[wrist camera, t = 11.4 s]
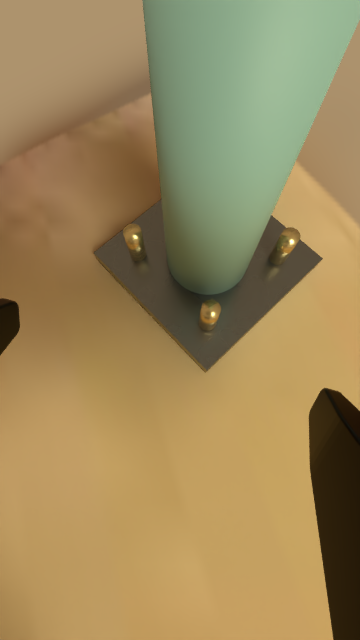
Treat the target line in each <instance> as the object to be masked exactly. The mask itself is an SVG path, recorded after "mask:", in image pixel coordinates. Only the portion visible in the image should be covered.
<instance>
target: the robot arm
mask: <svg viewBox="0 0 360 640" xmlns="http://www.w3.org/2000/svg"><path fill="white" fill-rule="evenodd" d="M19 328H20V321H19V307H18V304H17V303H16V302H15V301H11V300H8V299H4V298H1V299H0V355H1V354H2V353H3V351H4V350H5V349H6V347H7V346H8V345H9V344H10V342H11V341H12V340H13V339H14V337H15V336H16V335H17V333H18V331H19ZM309 449H310V472H311V480H312V488H313V495H314V502H315V509H316V516H317V524H318V531H319V538H320V545H321V553H322V560H323V567H324V574H325V582H326V589H327V596H328V603H329V610H330V618H331V625H332V632H333V639H334V640H360V411H359V410H358V409H357V408H356V407H355V406H354V405H353V404H352V403H351V402H350V401H349V400H348V399H347V398H345V397H344V396H343V395H342V394H341V393H340V392H338V391H335V390H331V389H328V388H324V389H322V390H321V391H320V393H319V395H318V397H317V399H316V400H315V402H314V404H313V406H312V408H311V410H310V413H309Z"/></svg>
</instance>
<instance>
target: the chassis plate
mask: <svg viewBox="0 0 360 640" xmlns="http://www.w3.org/2000/svg"><path fill="white" fill-rule="evenodd" d="M94 254H95V256H96V258H97V260H98V261H99V262H100V263H101V264H102V265H103V266H104V267H105V268H106V269H107V270H108V271H109V272H110V274H111V275H112V276H113V277H114V278H115V279H116V280H117V281H118V282H119V283H120V284H121V285H122V286H123V287H124V288H125V289H126V290H127V291H128V292H129V293H130V294H131V295H132V297H133V298H134V299H135V300H136V301H137V302H138V303H139V304H140V305H141V306H142V307H143V308H144V309H145V310H146V311H147V312H148V313H149V314H150V315H151V316H152V317H153V318H154V319H155V321H156V322H157V323H158V324H159V325H160V326H161V327H162V328H163V329H164V330H165V331H166V332H167V333H168V334H169V335H170V336H171V337H172V338H173V339H174V340H175V341H176V342H177V344H178V345H179V346H180V347H181V348H182V349H183V350H184V351H185V352H186V353H187V354H188V355H189V356H190V357H191V358H192V359H193V360H194V361H195V362H196V363H197V364H198V365H199V367H200V368H201V369H202V370H203V371H204V372H205V373H206V372H207V371H208V370H209V369H210V368H211V367H212V366H213V365H214V364H215V363H216V362H217V361H218V360H219V359H220V358H221V357H222V356H223V355H225V354H226V353H227V352H228V351H229V350H230V349H231V348H232V347H233V346H234V345H235V344H236V343H237V342H238V341H239V340H240V339H241V338H242V337H243V336H244V335H245V334H246V333H247V332H248V331H249V330H250V329H251V328H252V327H253V326H255V325H256V324H257V323H258V322H259V321H260V320H261V319H262V318H263V317H264V316H265V315H266V314H267V313H268V312H269V311H270V310H271V309H272V308H273V307H274V306H275V305H276V304H277V303H278V302H279V301H280V300H281V299H282V298H283V297H285V296H286V295H287V294H288V293H289V292H290V291H291V290H292V289H293V288H294V287H295V286H296V285H297V284H298V283H299V282H300V281H301V280H302V279H303V278H304V277H305V276H306V275H307V274H308V273H309V272H310V271H311V270H312V269H313V268H315V267H316V266H317V264H318V263H319V262H320V261H321V260H322V259H323V258H321V257H320V256H319V255H318V254H317V253H315V252H314V251H313V250H312V249H311V248H310V247H308V246H307V245H306V244H305V243H304V242H302V241H301V240H300V233H299V232H298V230H296V229H294V228H286V227H285V226H284V225H282V224H281V223H280V222H279V221H278V220H276V219H275V218H274V217H273V216H272V215H271V217H270V219H269V221H268V223H267V225H266V228H265V230H264V232H263V234H262V237H261V239H260V241H259V243H258V245H257V248H256V250H255V252H254V254H253V256H252V259H251V261H250V263H249V265H248V268H247V270H246V272H245V274H244V276H243V277H242V279H241V280H240V281H239V282H238V283H237V284H236V285H235V286H234V287H232V288H231V289H229V290H227V291H225V292H222V293H218V294H212V295H205V294H199V293H195V292H192V291H190V290H188V289H186V288H184V287H183V286H181V285H180V284H179V283H178V282H177V281H176V280H175V278H174V277H173V276H172V274H171V272H170V270H169V267H168V262H167V253H166V242H165V232H164V221H163V211H162V200H160V201H159V202H157V203H156V204H155V205H153V206H152V207H151V208H150V209H148V210H147V211H146V212H145V213H143V214H142V215H141V216H140V217H138V218H137V219H136V220H135V221H133V222H132V223H131V224H129V225H127V226H126V227H125V228H124V229H123V230H122V231H121V232H119V233H118V234H117V235H116V236H114V237H113V238H112V239H111V240H109V241H108V242H107V243H105V244H104V245H103V246H102V247H100V248H99V249H98V250H97V251H95V252H94Z"/></svg>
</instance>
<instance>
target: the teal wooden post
mask: <svg viewBox="0 0 360 640" xmlns="http://www.w3.org/2000/svg"><path fill="white" fill-rule="evenodd" d="M143 10H144V21H145V31H146V41H147V52H148V62H149V73H150V83H151V95H152V105H153V116H154V126H155V137H156V147H157V158H158V168H159V179H160V190H161V200H162V211H163V221H164V232H165V242H166V253H167V262H168V267H169V270H170V272H171V274H172V276H173V277H174V278H175V280H176V281H177V282H178V283H179V284H180V285H181V286H183V287H184V288H186V289H188V290H190V291H192V292H195V293H199V294H205V295H212V294H218V293H222V292H225V291H227V290H229V289H231V288H232V287H234V286H235V285H236V284H237V283H238V282H239V281H240V280H241V279H242V277H243V276H244V274H245V272H246V270H247V268H248V265H249V263H250V261H251V259H252V256H253V254H254V252H255V250H256V248H257V245H258V243H259V241H260V239H261V237H262V234H263V232H264V230H265V228H266V225H267V223H268V221H269V219H270V217H271V214H272V212H273V210H274V208H275V206H276V203H277V201H278V199H279V197H280V195H281V192H282V190H283V188H284V186H285V183H286V181H287V179H288V177H289V175H290V172H291V170H292V168H293V166H294V164H295V161H296V159H297V157H298V155H299V152H300V150H301V148H302V146H303V144H304V141H305V139H306V137H307V135H308V133H309V130H310V128H311V126H312V124H313V122H314V119H315V117H316V115H317V113H318V110H319V108H320V106H321V104H322V102H323V99H324V97H325V95H326V93H327V91H328V88H329V86H330V84H331V82H332V79H333V77H334V75H335V73H336V71H337V68H338V66H339V64H340V62H341V59H342V57H343V55H344V53H345V50H346V48H347V46H348V44H349V42H350V40H351V37H352V35H353V33H354V31H355V29H356V26H357V24H358V22H359V20H360V0H143Z"/></svg>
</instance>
